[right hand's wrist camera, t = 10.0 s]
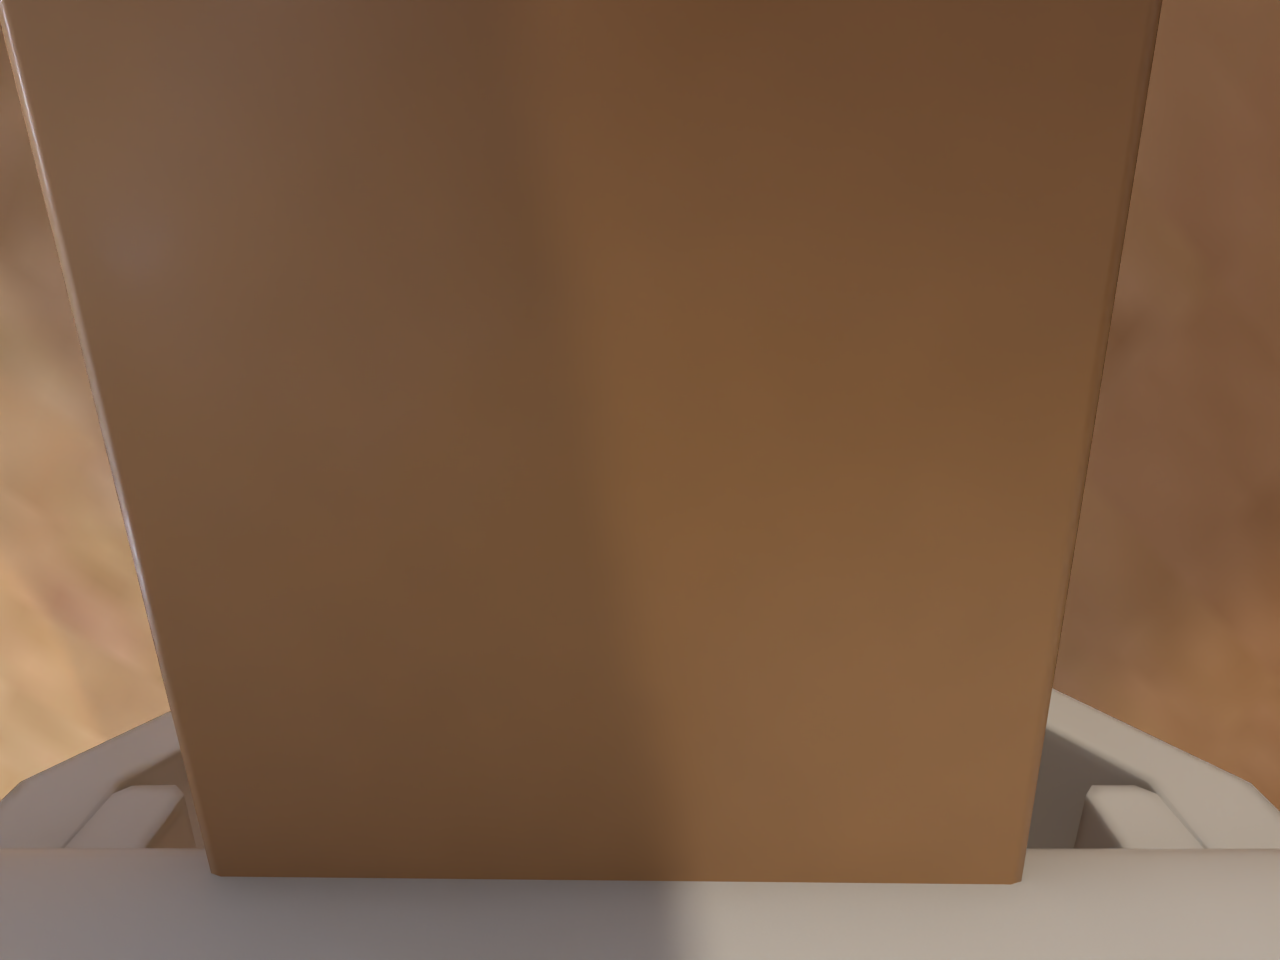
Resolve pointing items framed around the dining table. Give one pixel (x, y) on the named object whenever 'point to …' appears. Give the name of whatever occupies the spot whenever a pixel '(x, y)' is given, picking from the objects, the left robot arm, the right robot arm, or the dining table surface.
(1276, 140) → the dining table surface
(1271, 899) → the right robot arm
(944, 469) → the post
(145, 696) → the dining table surface
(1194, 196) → the dining table surface
